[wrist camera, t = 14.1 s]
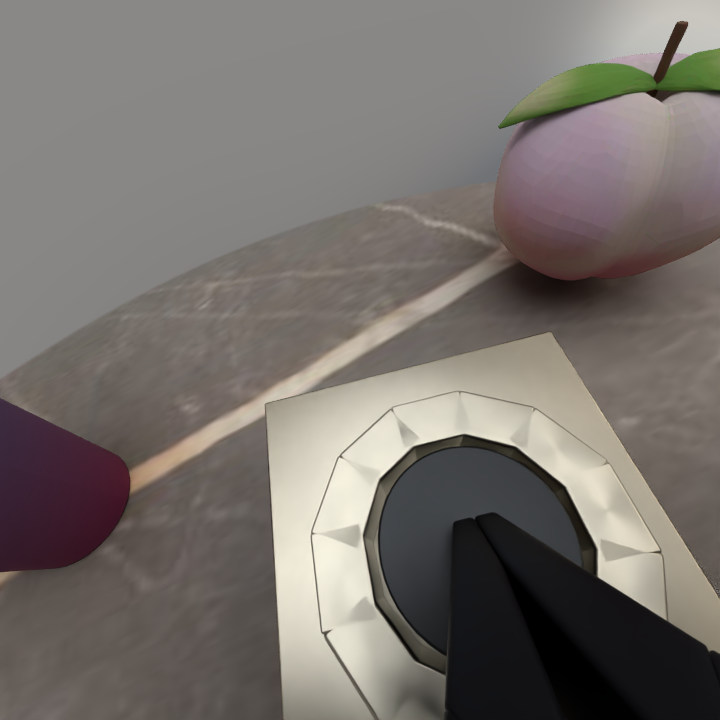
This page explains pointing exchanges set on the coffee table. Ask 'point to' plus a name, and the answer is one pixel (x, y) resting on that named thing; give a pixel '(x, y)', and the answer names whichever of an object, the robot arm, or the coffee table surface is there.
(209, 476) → the coffee table surface
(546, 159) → the decorative fruit
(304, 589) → the beige button base
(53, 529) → the cup
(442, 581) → the button
